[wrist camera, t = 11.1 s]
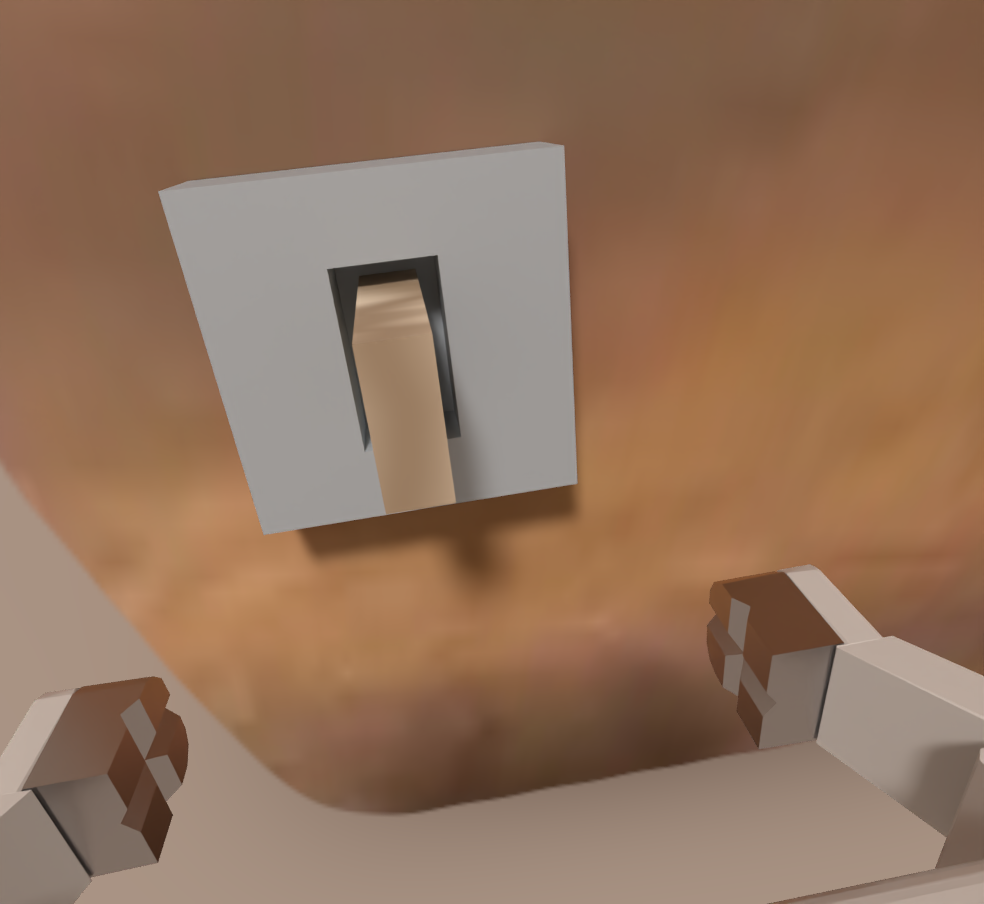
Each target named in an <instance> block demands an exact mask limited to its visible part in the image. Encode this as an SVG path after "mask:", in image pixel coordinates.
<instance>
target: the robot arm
mask: <svg viewBox="0 0 984 904" xmlns="http://www.w3.org/2000/svg"><path fill="white" fill-rule="evenodd" d="M709 603H710V605H711V607H712V608H713V610H714V611H715V613H716V615H715V616H714V617H713V619H712V620H711V621H710V622H709V624H708V625H707V647H708V652H709V658H710V661H711V664H712V666H713V669H714V672H715V674H716V676H717V678H718V679H719V681H720V683H721V685H722V687H724V688H725V689H727V690H729V691H730V692H732V693H734V694H735V695H737V696H738V702H737V713H738V715H739V716H740V718H741V720H742V722H743V723H744V725H745V727H746V728H747V730H748V732H749V734H750V735H751V737H752V739H753V740H754V742H755V744H756V746H757V747H758V749H763V748H769V747H776V746H782V745H788V744H795V743H801V742H807V741H813V740H817V744H818V745H820V746H821V747H822V748H824V749H825V750H827V751H828V752H829V753H831V754H832V755H833V756H835V757H836V758H838V759H839V760H840V761H842V762H843V763H844V764H846V765H847V766H849V767H850V768H851V769H853V770H854V771H856V772H857V773H858V774H860V775H861V776H863V777H864V778H865V779H867V780H868V781H869V782H871V783H872V784H874V785H875V786H876V787H878V788H879V789H880V790H882V791H883V792H885V793H886V794H887V795H889V796H890V797H892V798H893V799H894V800H896V801H897V802H898V803H900V804H901V805H903V806H904V807H905V808H907V809H908V810H909V811H911V812H912V813H914V814H915V815H916V816H918V817H919V818H920V819H922V820H923V821H925V822H926V823H928V824H929V825H930V826H932V827H933V828H934V829H936V830H937V831H939V832H940V833H941V834H943V835H944V836H945V837H947V838H946V841H945V843H944V846H943V849H942V851H941V854H940V857H939V859H938V862H937V865H936V867H935V869H933V870H928V871H924V872H918V873H914V874H909V875H904V876H899V877H895V878H890V879H885V880H880V881H875V882H871V883H865V884H861V885H856V886H851V887H846V888H841V889H837V890H832V891H827V892H823V893H817V894H813V895H808V896H803V897H798V898H794V899H789V900H784V901H779V902H774V903H769V904H984V676H982V675H980V674H978V673H975V672H973V671H971V670H969V669H966V668H964V667H962V666H959V665H957V664H955V663H953V662H950V661H948V660H946V659H944V658H941V657H939V656H937V655H935V654H932V653H930V652H928V651H926V650H923V649H921V648H919V647H917V646H914V645H912V644H910V643H908V642H905V641H903V640H901V639H899V638H896V637H894V636H890V637H884V638H883V637H882V636H881V635H880V634H879V633H878V632H877V631H876V630H875V629H874V628H873V626H872V625H871V624H870V623H869V622H868V621H867V620H866V619H865V618H864V617H863V616H862V615H861V614H860V613H859V612H858V610H857V609H856V608H855V607H854V606H853V605H852V604H851V603H850V602H849V601H848V600H847V599H846V598H845V597H844V596H843V594H842V593H841V592H840V591H839V590H838V589H837V588H836V587H835V586H834V585H833V584H832V583H831V582H830V581H829V580H828V578H827V577H826V576H825V575H824V574H823V573H822V572H821V571H820V570H819V569H818V568H817V567H814V566H812V565H810V564H809V565H804V566H798V567H793V568H787V569H782V570H778V571H777V572H775V571H773V572H768V573H762V574H756V575H751V576H745V577H739V578H734V579H728V580H722V581H717V582H714V583H713V585H712V587H711V589H710V598H709ZM169 696H170V694H169V692H168V690H167V688H166V686H165V684H164V682H163V680H162V679H161V678H158V677H146V678H139V679H132V680H125V681H118V682H111V683H105V684H97V685H91V686H84V687H81V688H76V689H69V690H62V691H54V692H47V693H45V694H43V695H42V696H40V697H39V698H37V699H36V700H35V701H34V702H33V704H32V705H31V707H30V709H29V710H28V712H27V714H26V715H25V717H24V719H23V720H22V722H21V724H20V725H19V727H18V729H17V730H16V732H15V734H14V735H13V737H12V739H11V741H10V742H9V744H8V745H7V747H6V749H5V750H4V752H3V754H2V756H1V757H0V904H74V902H75V901H76V900H77V899H78V898H79V896H80V895H81V893H83V891H84V890H85V889H86V888H87V886H88V885H89V884H90V883H91V881H92V880H91V878H90V877H95V876H99V875H104V874H108V873H113V872H118V871H122V870H127V869H132V868H135V867H141V866H145V865H150V864H154V863H158V861H159V858H160V854H161V851H162V848H163V844H164V841H165V838H166V835H167V832H168V829H169V825H170V822H171V819H172V816H173V814H172V812H171V811H170V809H169V806H168V804H167V802H166V801H167V800H168V799H169V798H170V797H171V796H172V795H173V794H174V793H175V792H176V791H177V789H178V788H179V787H180V786H181V785H182V783H183V779H184V776H185V772H186V769H187V762H188V739H187V734H186V729H185V726H184V724H183V722H182V720H181V717H180V716H178V715H177V714H175V713H173V712H171V711H169V710H168V709H166V708H165V707H166V704H167V701H168V699H169Z"/></svg>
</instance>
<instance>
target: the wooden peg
mask: <svg viewBox="0 0 984 904" xmlns="http://www.w3.org/2000/svg"><path fill="white" fill-rule="evenodd" d="M352 347H353V352H354V357H355V362H356V367H357V372H358V377H359V382H360V387H361V392H362V397H363V402H364V407H365V412H366V417H367V422H368V427H369V432H370V437H371V442H372V447H373V452H374V457H375V462H376V467H377V472H378V477H379V482H380V487H381V492H382V497H383V502H384V507H385V512H386V514H391V513H397V512H403V511H410V510H416V509H422V508H428V507H434V506H440V505H446V504H452V503H456V499H455V492H454V484H453V477H452V470H451V463H450V456H449V449H448V442H447V435H446V428H445V420H444V413H443V406H442V399H441V392H440V385H439V378H438V371H437V363H436V356H435V349H434V342H433V335H432V331H431V327H430V323H429V319H428V315H427V312H426V308H425V304H424V300H423V296H422V292H421V289H420V285H419V281H418V277H417V273H416V270H415V269H409V270H401V271H393V272H386V273H378V274H370V275H362V276H359V281H358V291H357V300H356V310H355V320H354V330H353V340H352Z"/></svg>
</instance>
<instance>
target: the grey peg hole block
mask: <svg viewBox="0 0 984 904" xmlns="http://www.w3.org/2000/svg"><path fill="white" fill-rule="evenodd" d="M158 192H159V196H160V199H161V202H162V205H163V209H164V212H165V215H166V218H167V222H168V225H169V228H170V231H171V235H172V238H173V241H174V244H175V248H176V251H177V254H178V257H179V261H180V264H181V267H182V270H183V274H184V277H185V280H186V283H187V287H188V290H189V293H190V296H191V300H192V303H193V306H194V309H195V313H196V316H197V319H198V322H199V326H200V329H201V332H202V336H203V339H204V342H205V345H206V349H207V352H208V355H209V358H210V362H211V365H212V368H213V371H214V375H215V378H216V381H217V384H218V388H219V391H220V394H221V397H222V401H223V404H224V407H225V410H226V414H227V417H228V420H229V423H230V427H231V430H232V433H233V436H234V440H235V443H236V446H237V449H238V453H239V456H240V459H241V462H242V466H243V469H244V472H245V475H246V479H247V482H248V485H249V488H250V492H251V495H252V498H253V501H254V505H255V508H256V511H257V514H258V518H259V521H260V524H261V528H262V531H263V534H264V535H266V534H272V533H278V532H285V531H291V530H297V529H303V528H309V527H315V526H321V525H327V524H334V523H340V522H346V521H352V520H358V519H364V518H370V517H376V516H382V515H389V514H386V512H385V507H384V502H383V497H382V492H381V487H380V482H379V477H378V472H377V467H376V462H375V457H374V452H373V447H372V442H371V437H370V432H369V427H368V422H367V417H366V412H365V407H364V402H363V397H362V392H361V387H360V382H359V377H358V372H357V367H356V362H355V357H354V352H353V347H352V340H353V330H354V320H355V310H356V300H357V291H358V281H359V276H362V275H370V274H378V273H386V272H393V271H401V270H409V269H415V270H416V273H417V277H418V281H419V285H420V289H421V292H422V296H423V300H424V304H425V308H426V312H427V315H428V319H429V323H430V327H431V331H432V335H433V342H434V349H435V356H436V363H437V371H438V378H439V385H440V392H441V399H442V406H443V413H444V420H445V428H446V435H447V442H448V449H449V456H450V463H451V470H452V477H453V484H454V492H455V499H456V503H462V502H468V501H474V500H480V499H486V498H493V497H499V496H505V495H511V494H517V493H523V492H529V491H535V490H541V489H548V488H554V487H560V486H566V485H572V484H577V462H576V436H575V411H574V386H573V360H572V335H571V309H570V284H569V259H568V233H567V208H566V182H565V157H564V145H557V144H551V143H544V142H532V143H523V144H514V145H505V146H496V147H487V148H478V149H469V150H460V151H452V152H443V153H434V154H425V155H416V156H407V157H398V158H389V159H380V160H371V161H363V162H354V163H345V164H336V165H327V166H318V167H309V168H300V169H291V170H282V171H274V172H265V173H256V174H247V175H238V176H229V177H220V178H211V179H202V180H193V181H187V182H184V183H181V184H179V185H176V186H173V187H170V188H167V189H164V190H161V191H158ZM456 503H452V504H456ZM446 505H450V504H446ZM440 506H444V505H440ZM434 507H438V506H434ZM428 508H431V507H428ZM422 509H425V508H422ZM416 510H419V509H416ZM410 511H413V510H410ZM403 512H407V511H403ZM397 513H401V512H397ZM391 514H395V513H391Z"/></svg>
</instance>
